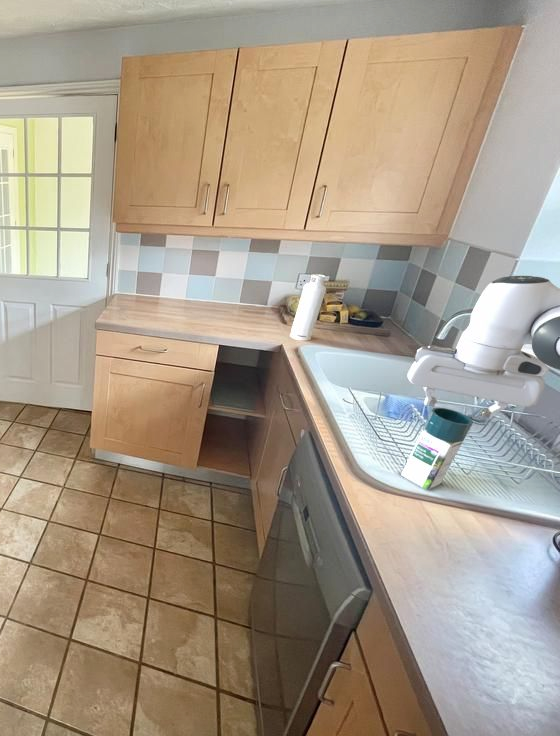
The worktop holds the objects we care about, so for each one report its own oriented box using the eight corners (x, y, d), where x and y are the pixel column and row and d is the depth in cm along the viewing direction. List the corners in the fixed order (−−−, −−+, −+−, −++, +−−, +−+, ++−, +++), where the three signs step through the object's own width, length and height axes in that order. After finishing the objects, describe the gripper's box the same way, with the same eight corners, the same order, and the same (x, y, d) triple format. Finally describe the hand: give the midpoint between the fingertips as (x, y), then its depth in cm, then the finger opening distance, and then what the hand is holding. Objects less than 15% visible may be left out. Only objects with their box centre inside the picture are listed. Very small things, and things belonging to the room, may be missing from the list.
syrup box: (397, 479, 101) (420, 430, 95) (411, 473, 103) (435, 425, 97) (424, 495, 96) (450, 444, 90) (438, 488, 98) (465, 438, 92)
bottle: (285, 334, 186) (303, 273, 175) (299, 333, 189) (317, 272, 177) (300, 341, 179) (319, 278, 168) (314, 339, 182) (334, 277, 170)
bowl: (458, 431, 95) (467, 413, 92) (466, 447, 89) (477, 428, 87) (420, 422, 98) (429, 404, 96) (426, 437, 92) (436, 418, 90)
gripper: (423, 348, 87) (399, 404, 93) (561, 371, 78) (525, 432, 84) (417, 338, 92) (395, 392, 98) (546, 359, 83) (513, 417, 89)
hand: (456, 411), depth 91 cm, fingers open, 8 cm apart
